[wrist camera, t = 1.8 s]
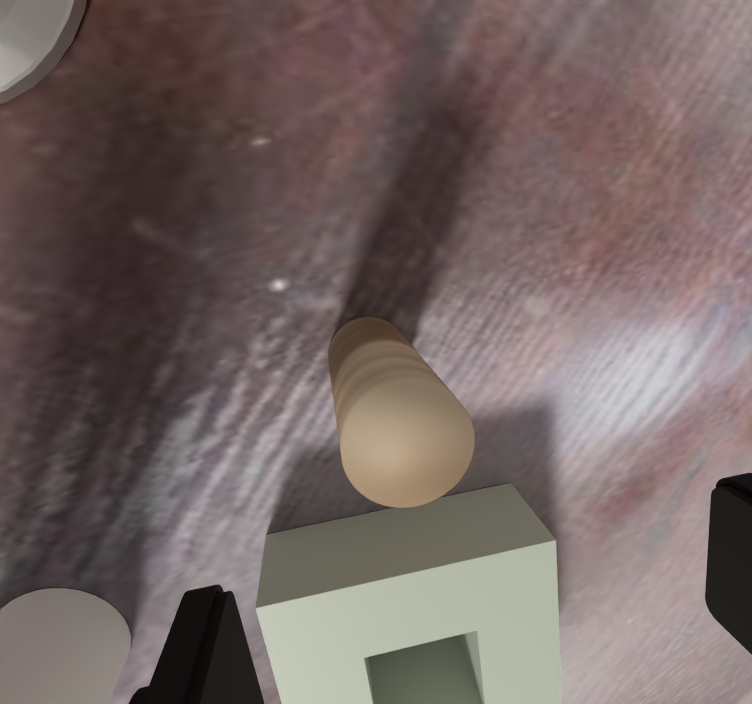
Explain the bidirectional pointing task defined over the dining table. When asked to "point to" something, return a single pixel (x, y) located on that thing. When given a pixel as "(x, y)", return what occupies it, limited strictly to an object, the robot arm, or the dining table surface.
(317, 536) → the socket block
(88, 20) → the dining table surface
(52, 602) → the cylindrical container
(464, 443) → the maple peg
